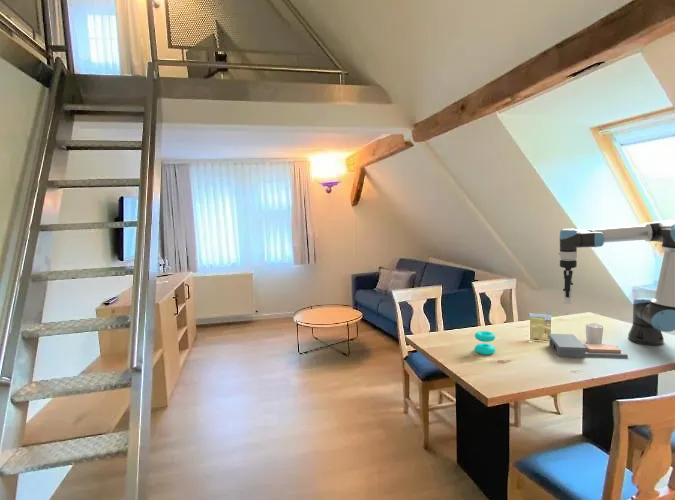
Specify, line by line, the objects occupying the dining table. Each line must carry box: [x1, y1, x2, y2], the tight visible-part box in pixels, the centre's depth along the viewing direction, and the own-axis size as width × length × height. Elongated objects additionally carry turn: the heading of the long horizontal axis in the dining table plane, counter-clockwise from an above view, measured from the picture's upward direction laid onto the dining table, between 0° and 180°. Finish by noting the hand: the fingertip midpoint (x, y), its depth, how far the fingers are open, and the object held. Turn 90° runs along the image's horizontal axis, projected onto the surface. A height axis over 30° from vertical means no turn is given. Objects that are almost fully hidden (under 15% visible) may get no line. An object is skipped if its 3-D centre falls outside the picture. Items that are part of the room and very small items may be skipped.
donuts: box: [474, 330, 496, 356], centre depth 214 cm, size 10×10×10 cm
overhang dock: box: [548, 333, 629, 359], centre depth 207 cm, size 31×20×6 cm, turn 77°
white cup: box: [585, 322, 604, 344], centre depth 218 cm, size 8×8×10 cm
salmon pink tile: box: [582, 342, 622, 354], centre depth 206 cm, size 14×8×3 cm, turn 77°
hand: (568, 300), depth 212 cm, fingers open, 13 cm apart
